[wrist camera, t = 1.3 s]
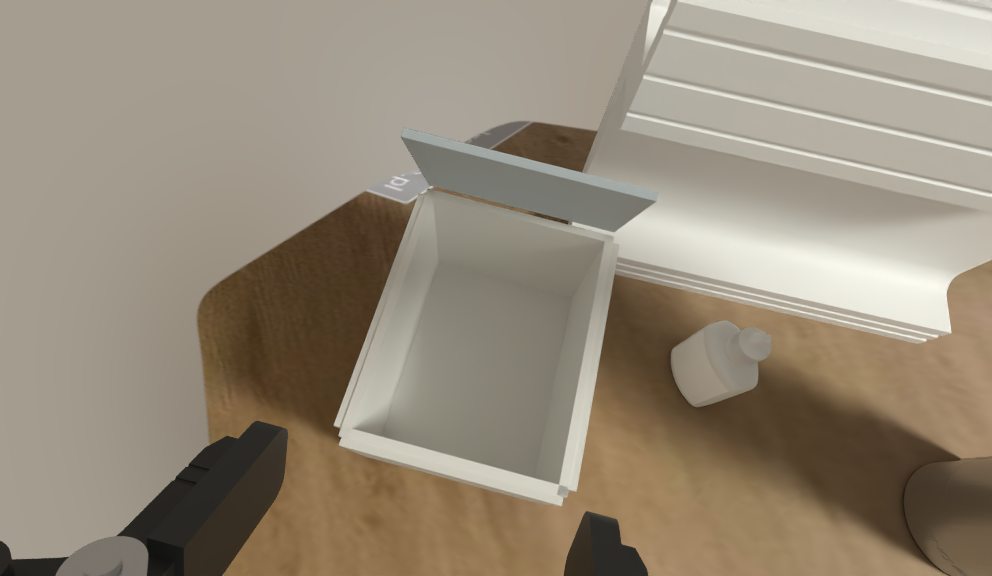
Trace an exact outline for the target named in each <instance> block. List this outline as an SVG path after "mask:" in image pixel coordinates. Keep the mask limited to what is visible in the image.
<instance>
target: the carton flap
mask: <svg viewBox="0 0 992 576" xmlns="http://www.w3.org/2000/svg"><path fill="white" fill-rule="evenodd" d="M401 138H402V140H403V141H404V143H405V145H406V146H407V148H408V150H409V151H410V153H411V155H412V157H413V158H414V160H415V162H416V163H417V165H418V167H419V169H420V170H421V172H422V174H423V175H424V177H425V179H426V180H427V182H428V184H429V185H430V186H434V187H438V188H442V189H446V190H450V191H454V192H458V193H462V194H466V195H469V196H473V197H477V198H481V199H485V200H489V201H493V202H497V203H501V204H505V205H509V206H513V207H516V208H520V209H524V210H528V211H532V212H536V213H540V214H544V215H548V216H552V217H556V218H559V219H563V220H567V221H571V222H575V223H579V224H583V225H587V226H591V227H595V228H599V229H602V230H606V231H610V232H615V231H617V230H618V229H619V228H621V227H622V226H624V225H625V224H626V223H628V222H629V221H630V220H632V219H633V218H635V217H636V216H637V215H639V214H640V213H641V212H643V211H644V210H645V209H647V208H648V207H650V206H651V205H652V204H654V203H655V202H656V201H657V197H658V193H659V192H657V191H653V190H649V189H645V188H641V187H637V186H633V185H629V184H625V183H621V182H617V181H613V180H609V179H605V178H601V177H597V176H593V175H589V174H585V173H581V172H577V171H573V170H569V169H566V168H562V167H558V166H554V165H550V164H546V163H542V162H538V161H534V160H530V159H526V158H522V157H518V156H514V155H510V154H506V153H502V152H498V151H494V150H490V149H486V148H482V147H478V146H474V145H471V144H467V143H463V142H459V141H455V140H451V139H447V138H443V137H439V136H434V135H431V134H427V133H423V132H419V131H415V130H411V129H407V128H403V130H402V134H401Z"/></svg>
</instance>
